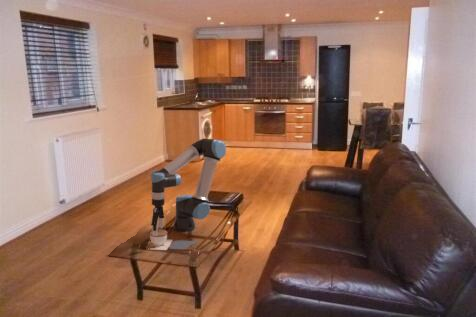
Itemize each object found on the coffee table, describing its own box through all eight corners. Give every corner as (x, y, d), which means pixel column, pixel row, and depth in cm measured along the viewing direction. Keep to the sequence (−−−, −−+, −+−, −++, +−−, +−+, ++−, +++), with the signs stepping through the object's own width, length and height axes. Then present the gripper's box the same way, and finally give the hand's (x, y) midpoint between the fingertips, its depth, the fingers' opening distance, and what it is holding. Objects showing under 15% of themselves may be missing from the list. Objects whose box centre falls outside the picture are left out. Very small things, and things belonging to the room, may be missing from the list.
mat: (174, 240, 263) (174, 240, 263) (196, 241, 262) (196, 241, 262) (169, 249, 249) (169, 248, 249) (192, 250, 248) (192, 249, 248)
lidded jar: (168, 246, 253) (168, 231, 251) (151, 248, 249) (150, 233, 248) (165, 240, 263) (165, 226, 261) (148, 241, 259) (148, 227, 258)
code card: (151, 239, 265) (151, 238, 265) (172, 239, 264) (172, 239, 264) (143, 249, 248) (143, 248, 248) (166, 250, 247) (166, 249, 247)
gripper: (157, 193, 264) (157, 225, 267) (146, 203, 239) (146, 238, 242) (168, 193, 263) (168, 225, 267) (159, 204, 239) (158, 239, 242)
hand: (157, 231), depth 254 cm, fingers open, 13 cm apart
